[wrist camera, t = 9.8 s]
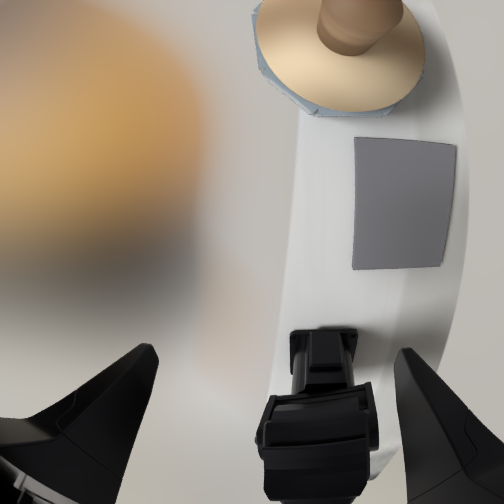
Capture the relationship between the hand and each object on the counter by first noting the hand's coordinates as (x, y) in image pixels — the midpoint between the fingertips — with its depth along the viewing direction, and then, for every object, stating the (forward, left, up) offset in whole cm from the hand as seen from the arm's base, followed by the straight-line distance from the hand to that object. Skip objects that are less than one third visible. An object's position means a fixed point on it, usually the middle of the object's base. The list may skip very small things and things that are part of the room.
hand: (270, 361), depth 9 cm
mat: (+1, -9, -13) cm, 16 cm away
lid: (+12, -4, -8) cm, 15 cm away
